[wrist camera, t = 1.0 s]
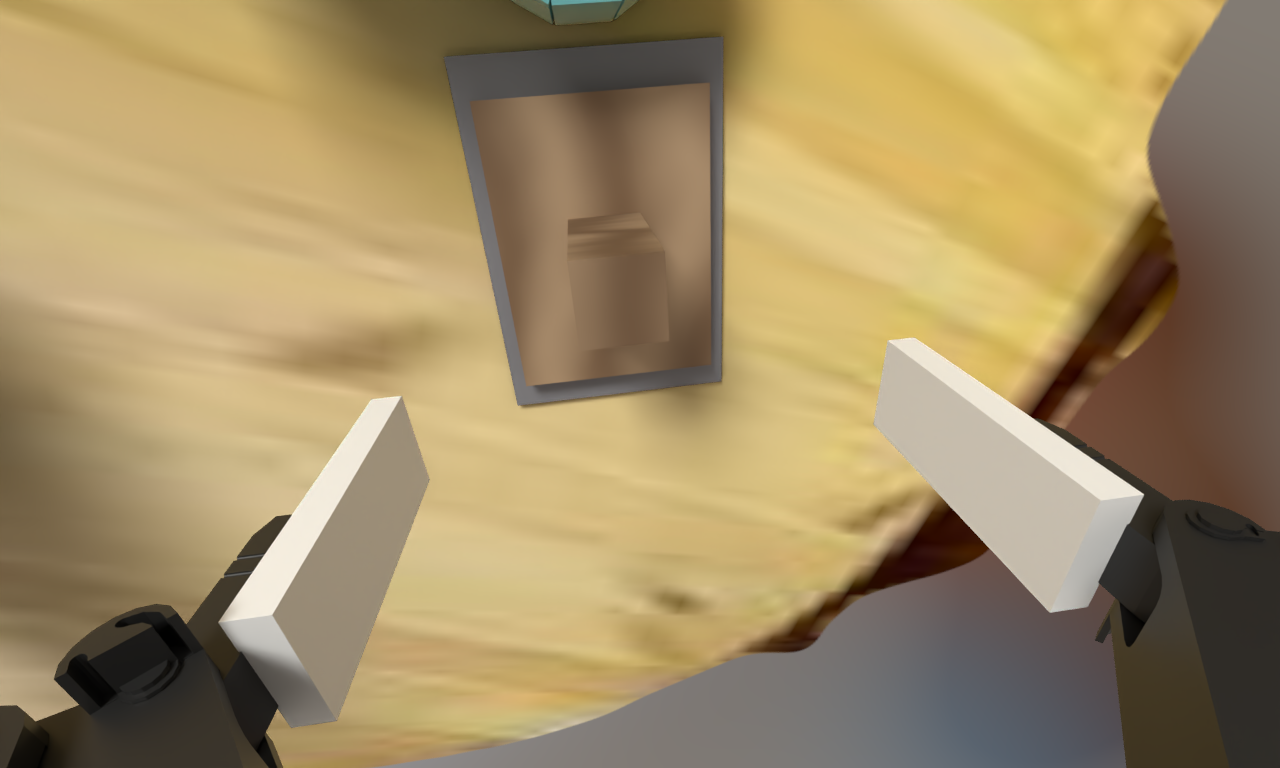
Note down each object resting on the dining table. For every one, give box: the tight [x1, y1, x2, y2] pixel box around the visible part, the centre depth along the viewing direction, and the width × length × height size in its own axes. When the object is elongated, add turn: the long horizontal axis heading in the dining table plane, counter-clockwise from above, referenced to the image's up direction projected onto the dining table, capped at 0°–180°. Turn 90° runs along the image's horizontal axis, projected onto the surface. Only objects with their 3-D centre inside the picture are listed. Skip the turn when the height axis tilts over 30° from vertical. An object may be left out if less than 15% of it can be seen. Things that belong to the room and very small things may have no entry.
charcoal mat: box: [444, 37, 723, 405], centre depth 31 cm, size 14×20×1 cm
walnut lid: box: [470, 83, 711, 386], centre depth 27 cm, size 12×16×10 cm
